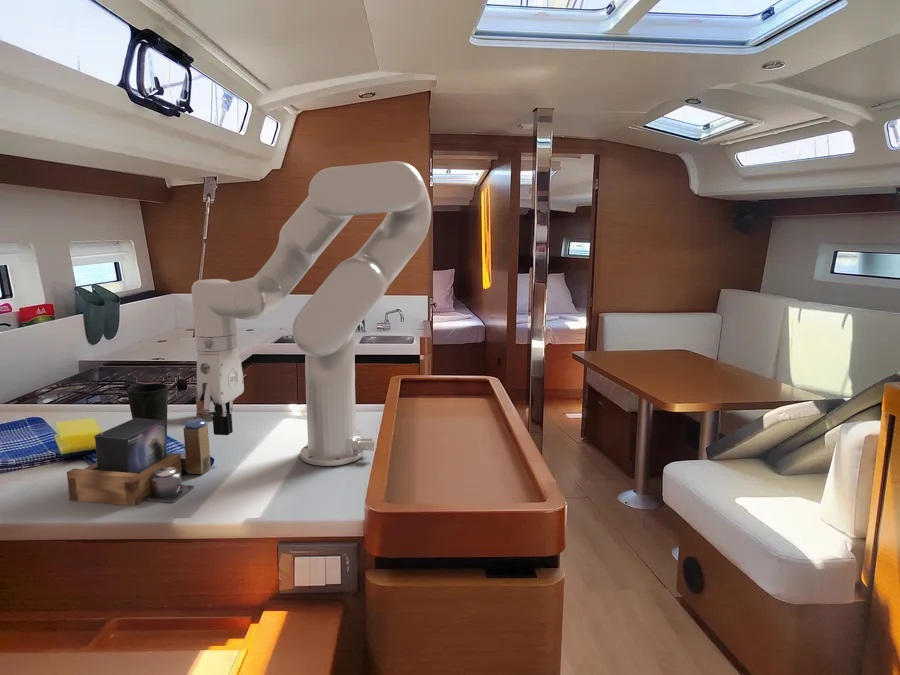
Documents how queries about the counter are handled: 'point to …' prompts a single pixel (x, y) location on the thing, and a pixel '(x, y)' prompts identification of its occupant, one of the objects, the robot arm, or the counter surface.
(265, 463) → the counter surface
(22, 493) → the counter surface
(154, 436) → the small box
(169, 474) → the drum
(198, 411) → the lighter
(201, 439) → the container
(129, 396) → the cup
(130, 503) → the bay
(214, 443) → the counter surface
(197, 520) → the counter surface
